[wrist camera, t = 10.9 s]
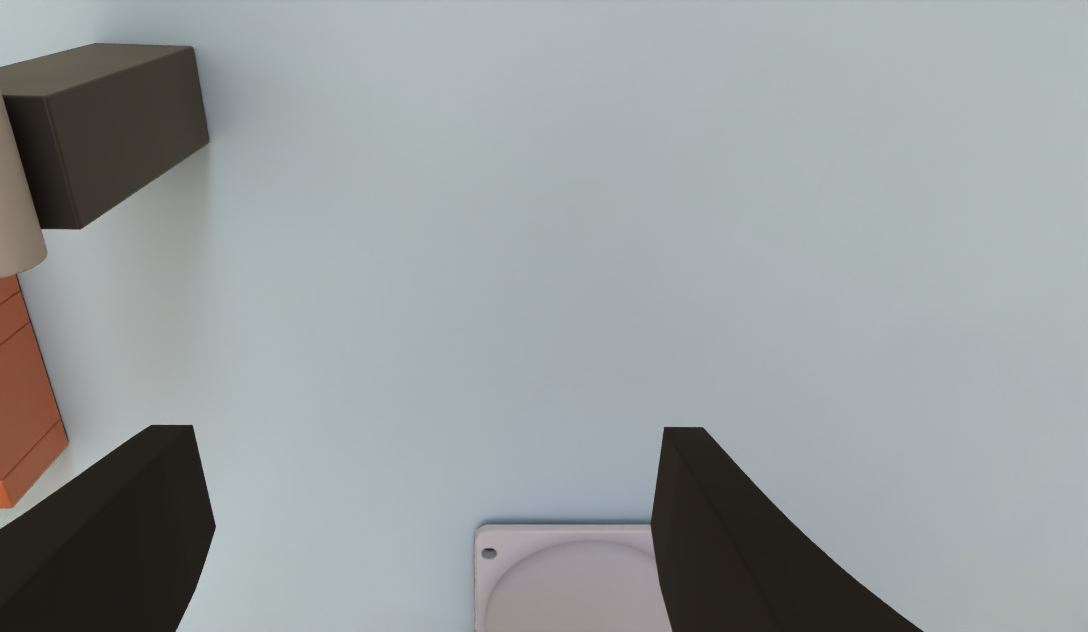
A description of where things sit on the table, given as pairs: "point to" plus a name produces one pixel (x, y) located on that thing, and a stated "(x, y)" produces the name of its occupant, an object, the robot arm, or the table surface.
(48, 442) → the holder
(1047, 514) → the table surface
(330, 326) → the table surface
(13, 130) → the block with cylinder
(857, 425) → the table surface
